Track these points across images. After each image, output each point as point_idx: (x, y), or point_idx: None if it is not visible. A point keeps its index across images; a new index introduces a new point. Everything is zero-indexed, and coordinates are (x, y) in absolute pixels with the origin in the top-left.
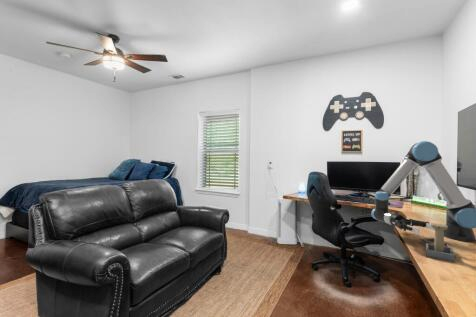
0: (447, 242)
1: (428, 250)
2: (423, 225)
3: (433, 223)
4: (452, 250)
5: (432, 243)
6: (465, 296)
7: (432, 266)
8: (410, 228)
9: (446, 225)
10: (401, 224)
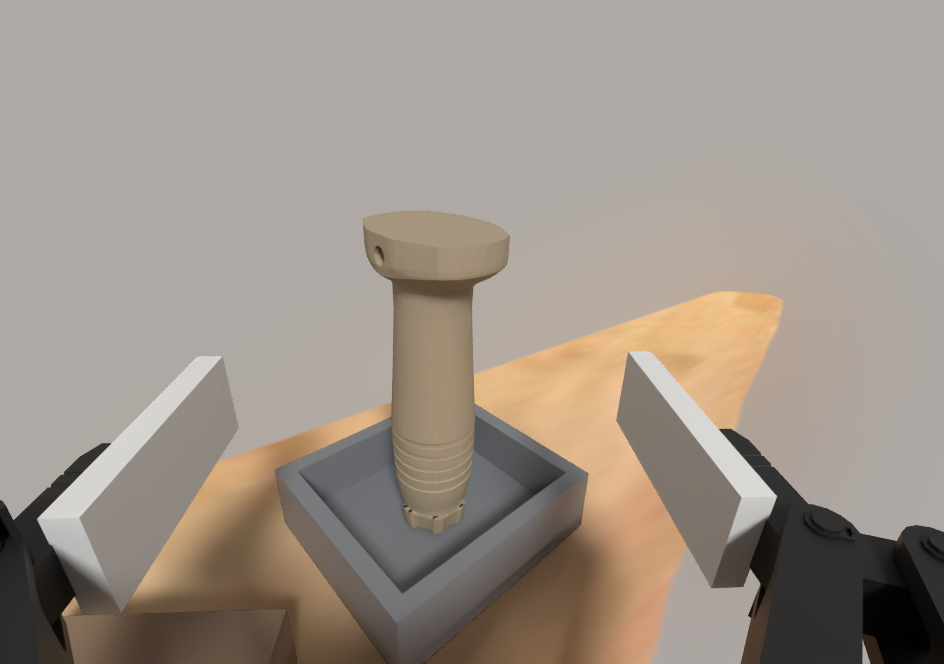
0: None
1: (576, 466)
2: (63, 652)
3: (432, 244)
4: (358, 435)
5: (280, 631)
6: (681, 311)
7: None
8: (730, 441)
9: (370, 216)
10: (932, 580)
